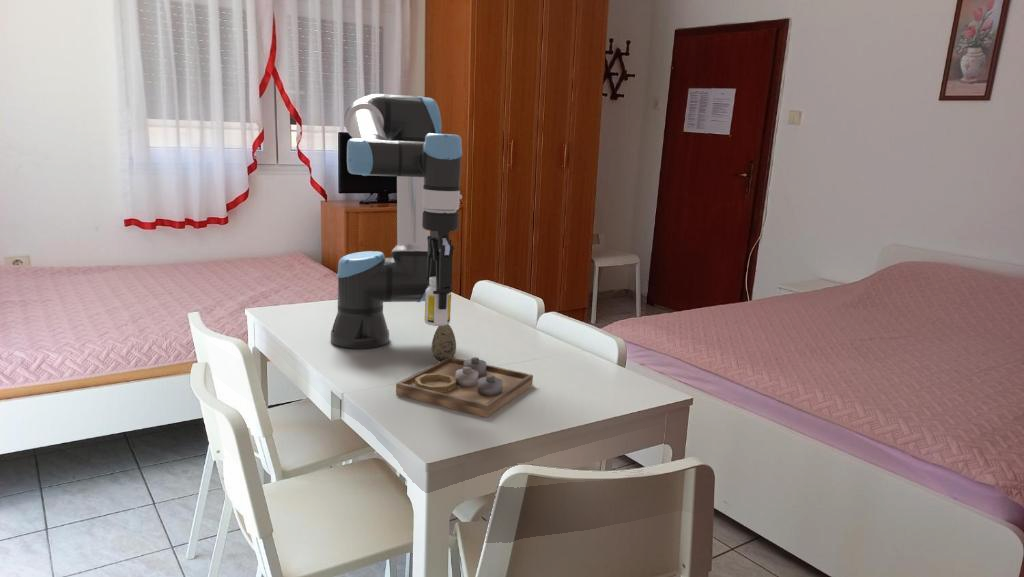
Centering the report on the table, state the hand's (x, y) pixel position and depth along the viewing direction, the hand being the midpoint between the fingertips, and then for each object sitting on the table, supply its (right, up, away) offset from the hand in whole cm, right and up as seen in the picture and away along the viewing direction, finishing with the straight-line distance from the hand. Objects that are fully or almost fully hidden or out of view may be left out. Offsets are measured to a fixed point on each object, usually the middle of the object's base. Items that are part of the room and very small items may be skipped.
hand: (437, 319), depth 149 cm
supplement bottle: (0, -1, 0) cm, 1 cm away
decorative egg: (-1, -12, +23) cm, 26 cm away
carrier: (+6, -16, +6) cm, 18 cm away
